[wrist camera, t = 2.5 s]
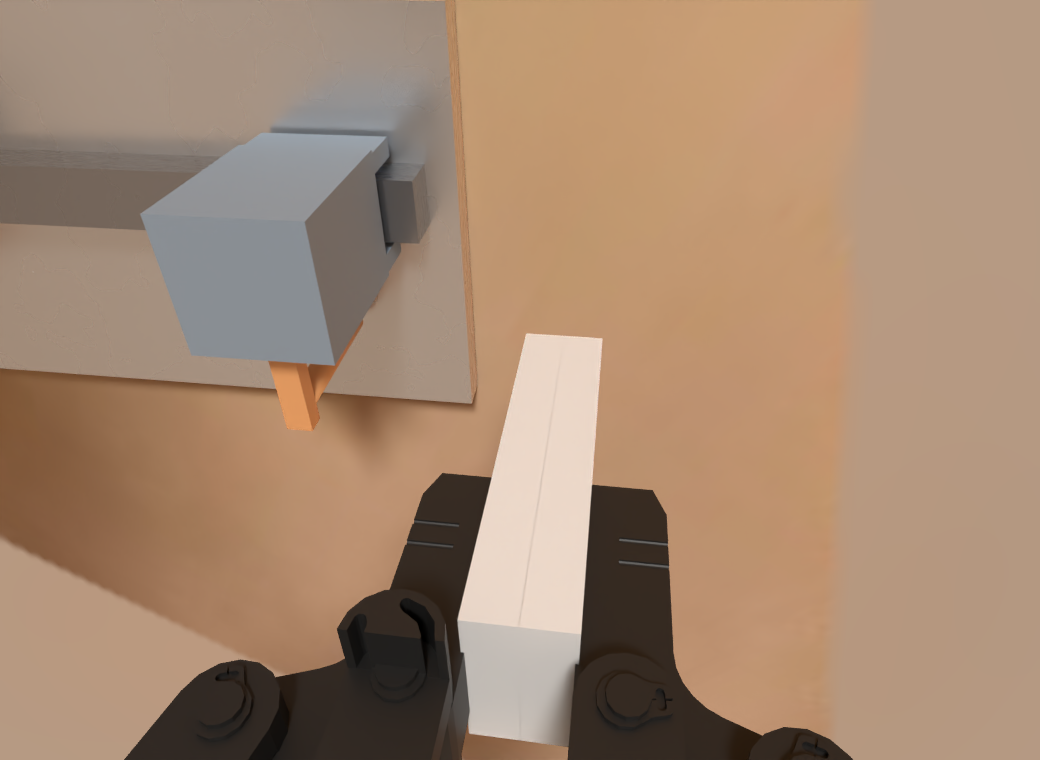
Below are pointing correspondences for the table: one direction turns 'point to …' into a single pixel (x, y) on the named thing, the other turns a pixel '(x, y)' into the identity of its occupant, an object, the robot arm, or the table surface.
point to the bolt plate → (219, 112)
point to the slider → (277, 257)
